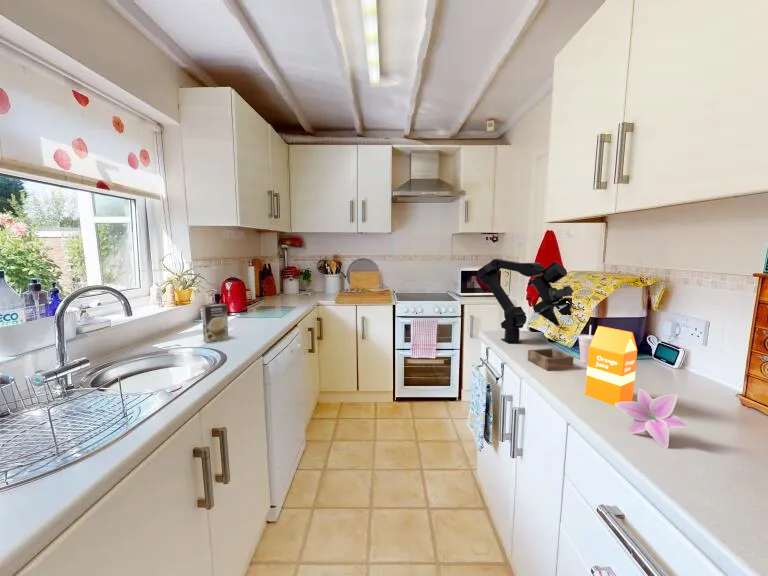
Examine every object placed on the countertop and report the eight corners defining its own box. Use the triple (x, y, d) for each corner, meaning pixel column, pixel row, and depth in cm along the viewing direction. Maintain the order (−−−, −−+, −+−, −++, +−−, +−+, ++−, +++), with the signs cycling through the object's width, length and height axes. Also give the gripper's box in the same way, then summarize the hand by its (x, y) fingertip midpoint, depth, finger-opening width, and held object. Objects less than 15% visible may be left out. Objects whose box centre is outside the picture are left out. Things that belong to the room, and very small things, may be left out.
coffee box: (206, 343, 144) (204, 307, 142) (203, 340, 149) (201, 305, 147) (229, 339, 150) (227, 304, 148) (225, 336, 155) (223, 302, 153)
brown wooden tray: (527, 360, 124) (528, 350, 124) (551, 358, 126) (552, 348, 126) (547, 370, 114) (547, 359, 113) (572, 368, 116) (573, 357, 116)
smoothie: (600, 365, 119) (603, 327, 118) (582, 365, 119) (585, 327, 118) (589, 359, 126) (592, 323, 124) (572, 359, 126) (575, 323, 124)
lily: (607, 422, 82) (607, 397, 78) (647, 402, 83) (650, 376, 79) (654, 465, 72) (658, 438, 67) (699, 441, 73) (706, 414, 68)
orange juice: (618, 407, 88) (625, 334, 85) (584, 394, 95) (590, 327, 93) (632, 400, 92) (639, 330, 89) (598, 389, 99) (604, 323, 97)
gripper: (545, 279, 123) (568, 317, 116) (574, 277, 132) (597, 312, 125) (524, 294, 131) (544, 330, 125) (552, 291, 141) (572, 324, 134)
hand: (565, 324), depth 127 cm, fingers open, 9 cm apart
